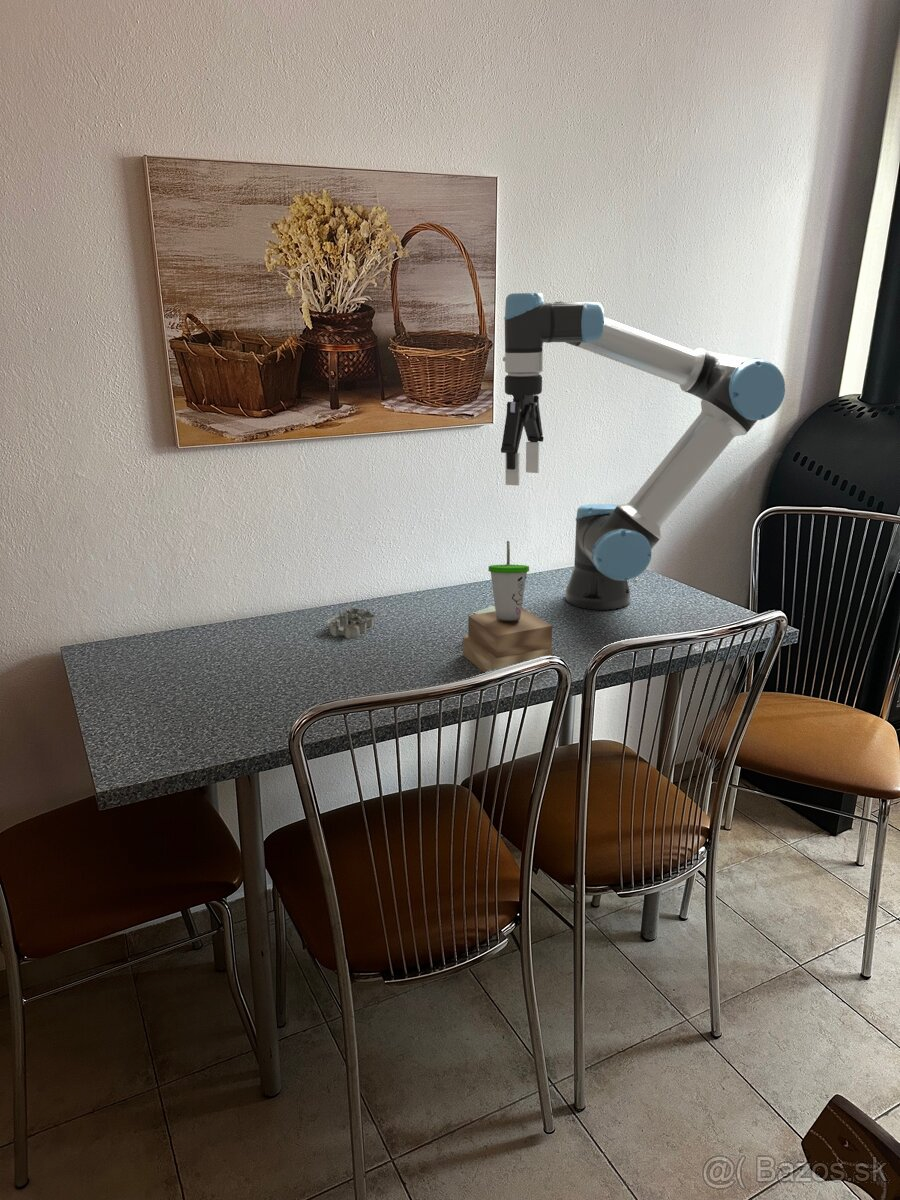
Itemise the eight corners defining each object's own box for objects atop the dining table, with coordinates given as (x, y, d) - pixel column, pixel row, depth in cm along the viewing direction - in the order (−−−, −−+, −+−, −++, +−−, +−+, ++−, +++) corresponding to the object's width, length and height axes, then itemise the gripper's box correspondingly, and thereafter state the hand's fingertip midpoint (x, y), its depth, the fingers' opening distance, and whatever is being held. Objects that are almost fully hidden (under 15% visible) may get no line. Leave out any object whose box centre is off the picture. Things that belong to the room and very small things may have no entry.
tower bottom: (519, 646, 179) (519, 626, 177) (551, 669, 168) (552, 648, 166) (462, 657, 174) (462, 636, 172) (492, 681, 163) (493, 659, 161)
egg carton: (353, 641, 182) (352, 623, 180) (324, 636, 185) (322, 618, 183) (379, 624, 191) (378, 607, 189) (350, 619, 194) (349, 602, 192)
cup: (516, 623, 162) (517, 543, 160) (480, 620, 166) (481, 542, 164) (535, 618, 169) (536, 541, 167) (500, 615, 173) (501, 540, 171)
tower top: (520, 627, 177) (520, 606, 175) (551, 647, 167) (552, 625, 165) (468, 636, 172) (468, 615, 171) (496, 658, 162) (497, 635, 160)
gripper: (524, 368, 185) (523, 466, 192) (484, 379, 164) (485, 489, 171) (558, 369, 183) (556, 468, 190) (522, 380, 161) (521, 491, 168)
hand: (522, 478), depth 180 cm, fingers open, 13 cm apart
